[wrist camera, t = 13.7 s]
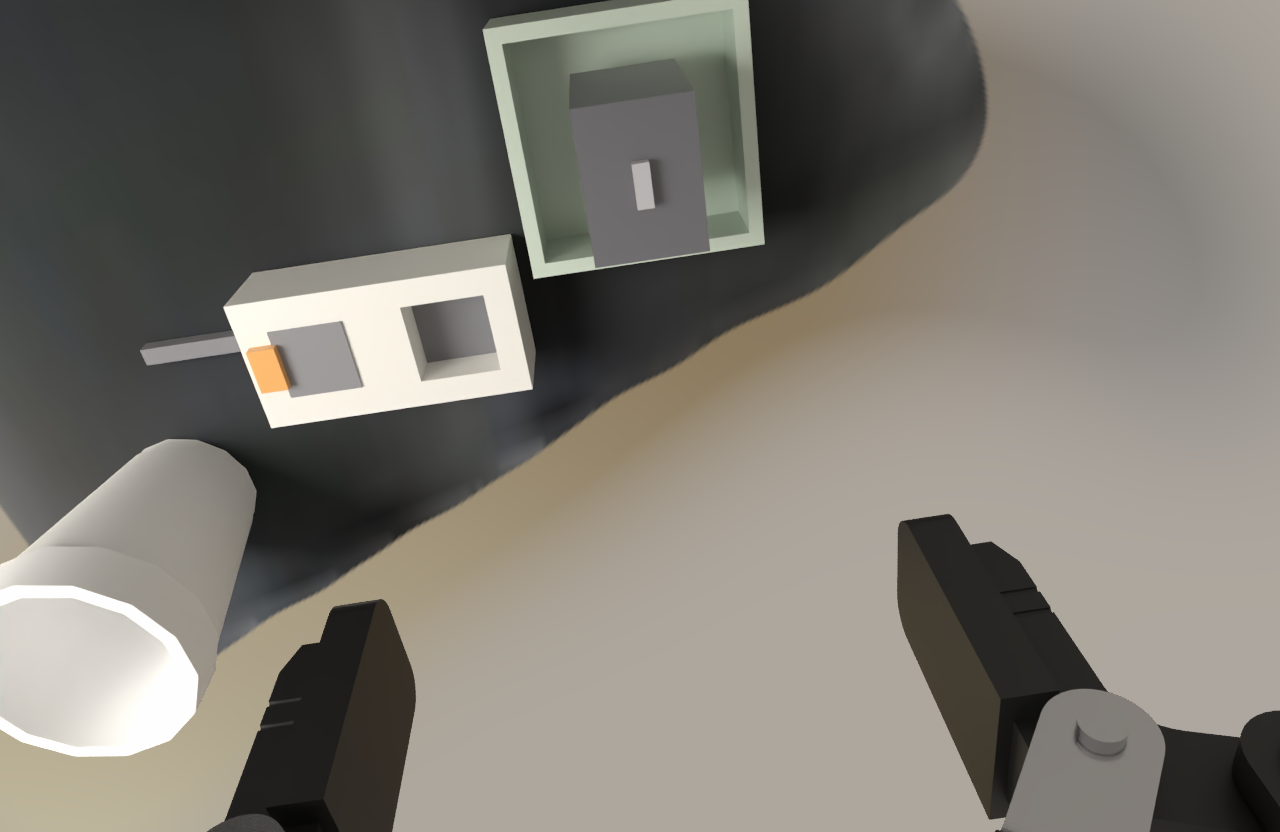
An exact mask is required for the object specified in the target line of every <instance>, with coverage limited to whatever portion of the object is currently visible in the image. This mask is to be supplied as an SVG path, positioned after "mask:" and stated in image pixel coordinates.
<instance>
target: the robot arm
mask: <svg viewBox="0 0 1280 832" xmlns="http://www.w3.org/2000/svg"><path fill="white" fill-rule="evenodd" d="M897 579H898V580H897V596H898V597H897V598H898V608H899V613H900V617H901V622H902V626H903V629H904V632H905V635H906V637H907V639H908V641H909V644H910V646H911V648H912V650H913V653H914V655H915V657H916V659H917V661H918V664H919V666H920V668H921V670H922V672H923V675H924V677H925V679H926V681H927V683H928V686H929V688H930V690H931V692H932V694H933V697H934V699H935V701H936V703H937V705H938V708H939V710H940V712H941V714H942V717H943V719H944V721H945V723H946V725H947V728H948V730H949V732H950V734H951V736H952V739H953V741H954V743H955V745H956V747H957V750H958V752H959V754H960V756H961V759H962V761H963V763H964V765H965V767H966V770H967V772H968V774H969V776H970V778H971V781H972V783H973V785H974V787H975V789H976V792H977V794H978V796H979V798H980V800H981V802H982V805H983V807H984V809H985V812H986V814H987V816H988V818H989V819H997V818H1004V817H1006V818H1005V821H1004V824H1003V827H1002V829H1001V831H999V830H996V831H995V832H1280V711H1272V712H1265V713H1263V714H1260V715H1257V716H1255V717H1254V718H1252V719H1251V720H1250V721H1249V722H1248V723H1247V724H1246V725H1245V726H1244V728H1243V730H1242V733H1241V736H1240V738H1239V737H1231V736H1222V735H1214V734H1205V733H1197V732H1189V731H1182V730H1176V729H1171V728H1167V727H1164V726H1160V725H1158V724H1156V722H1155V721H1154V720H1153V719H1152V718H1151V717H1150V716H1149V714H1147V713H1146V712H1145V711H1144V710H1143V709H1141V708H1140V707H1139V706H1137V705H1136V704H1134V703H1133V702H1131V701H1129V700H1127V699H1125V698H1123V697H1121V696H1118V695H1115V694H1113V693H1109V692H1108V691H1107V690H1106V689H1105V688H1104V686H1103V685H1102V683H1101V682H1100V681H1099V679H1098V677H1097V676H1096V674H1095V673H1094V671H1093V670H1092V668H1091V667H1090V665H1089V664H1088V662H1087V661H1086V659H1085V658H1084V656H1083V655H1082V653H1081V652H1080V651H1079V649H1078V647H1077V646H1076V645H1075V643H1074V642H1073V640H1072V639H1071V637H1070V636H1069V634H1068V633H1067V632H1066V630H1065V628H1064V627H1063V625H1062V624H1061V622H1060V621H1059V619H1058V618H1057V616H1056V615H1055V613H1054V612H1053V613H1052V612H1051V609H1050V606H1049V604H1048V603H1047V601H1046V600H1045V598H1044V597H1043V596H1042V594H1041V592H1038V591H1037V587H1036V585H1035V584H1034V582H1033V581H1032V579H1031V578H1030V576H1029V575H1028V573H1027V572H1026V570H1025V569H1024V567H1023V566H1022V564H1021V563H1020V562H1019V561H1018V560H1017V559H1015V558H1014V557H1012V556H1011V555H1010V554H1008V553H1007V552H1005V551H1004V550H1002V549H1001V548H1000V547H998V546H997V545H995V544H994V543H993V542H985V543H979V544H972V545H970V543H969V542H968V540H967V538H966V537H965V535H964V533H963V532H962V530H961V529H960V527H959V525H958V524H957V522H956V521H955V519H954V518H953V517H952V516H951V515H950V514H945V515H938V516H932V517H925V518H919V519H912V520H906V521H901V522H900V524H899V527H898V578H897ZM415 693H416V691H415V681H414V675H413V671H412V668H411V665H410V662H409V659H408V657H407V654H406V651H405V649H404V646H403V643H402V641H401V638H400V636H399V633H398V630H397V627H396V625H395V622H394V619H393V617H392V614H391V611H390V609H389V606H388V605H387V603H386V602H385V601H384V600H382V599H380V600H373V601H366V602H360V603H353V604H348V605H340V606H335V607H333V609H332V610H331V611H330V613H329V616H328V619H327V622H326V625H325V628H324V631H323V634H322V637H321V640H320V643H313V644H307V645H302V646H301V647H300V648H299V650H298V651H297V652H296V653H295V655H294V656H293V657H292V658H291V660H290V661H289V662H288V663H287V664H286V665H285V667H284V668H283V669H282V670H281V671H280V673H279V675H278V678H277V681H276V683H275V686H274V689H273V692H272V694H271V697H270V700H269V704H270V705H269V707H267V708H266V711H265V714H264V716H263V719H262V721H261V724H260V726H261V730H260V731H258V732H257V735H256V738H255V740H254V743H253V746H252V749H251V751H250V754H249V757H248V759H247V762H246V765H245V768H244V770H243V773H242V776H241V778H240V781H239V784H238V787H237V789H236V792H235V795H234V797H233V800H232V803H231V805H230V808H229V811H228V814H227V816H226V819H225V821H224V822H222V823H220V824H218V825H216V826H215V827H213V828H212V829H210V830H209V831H207V832H392V829H393V823H394V818H395V813H396V808H397V802H398V797H399V792H400V786H401V781H402V775H403V770H404V765H405V760H406V754H407V749H408V744H409V738H410V732H411V728H412V722H413V717H414V712H415V702H416V694H415Z"/></svg>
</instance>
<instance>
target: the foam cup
mask: <svg viewBox="0 0 1280 832" xmlns="http://www.w3.org/2000/svg"><path fill="white" fill-rule="evenodd" d="M256 493H257V491H256V489H255V486H254V484H253V482H252V480H251V478H250V476H249V473H248V471H247V469H246V468H245V467H244V466H242V465H241V464H240V463H239V462H238V461H237V460H236V459H234V458H233V457H232V456H231V455H230V454H229V453H228V452H226V451H225V450H223V449H220V448H217V447H215V446H212V445H210V444H207V443H204V442H202V441H199V440H185V439H167V440H165V441H162V442H160V443H158V444H155V445H153V446H150V447H148V448H146V449H144V450H143V451H142V452H141V453H140V454H137V455H136V456H135V457H134V458H133V459H131V460H130V461H129V462H128V463H127V464H126V465H124V466H123V467H122V468H121V469H120V470H119V471H117V472H116V473H115V474H114V475H113V476H111V477H110V478H109V479H108V480H107V481H106V482H104V483H103V484H102V485H101V486H100V487H99V488H97V489H96V490H95V491H94V492H93V493H92V494H90V495H89V496H88V497H87V498H86V499H85V500H83V501H82V502H81V503H80V504H79V505H77V506H76V507H75V508H74V509H73V510H72V511H70V512H69V513H68V514H67V515H66V516H65V517H63V518H62V519H61V520H60V521H59V522H58V523H56V524H55V525H54V526H53V527H52V528H51V529H49V530H48V531H47V532H46V533H45V534H43V535H42V536H41V537H40V538H39V539H38V540H36V541H35V542H34V543H33V544H32V545H31V546H29V547H28V548H27V549H26V550H25V551H24V552H22V553H21V554H20V555H19V556H18V557H17V558H15V559H12V560H10V561H8V562H5V563H3V564H0V729H1V730H3V731H4V732H6V733H8V734H9V735H11V736H12V737H14V738H16V739H17V740H19V741H21V742H23V743H27V744H31V745H35V746H38V747H42V748H46V749H50V750H53V751H57V752H60V753H64V754H68V755H71V756H129V755H131V754H134V753H137V752H140V751H142V750H145V749H148V748H151V747H153V746H156V745H159V744H161V743H164V742H167V741H170V740H171V739H172V738H173V737H174V736H175V735H176V733H177V732H178V731H179V730H180V729H181V728H182V727H183V726H184V725H185V723H186V722H187V721H188V720H189V719H190V718H191V717H192V716H193V715H194V714H195V713H196V711H197V708H198V706H199V704H200V702H201V699H202V698H203V695H204V693H205V691H206V689H207V687H208V685H209V683H210V680H211V678H212V676H213V674H214V671H215V667H216V656H217V645H218V641H219V637H220V634H221V630H222V627H223V623H224V620H225V616H226V613H227V609H228V606H229V602H230V598H231V595H232V591H233V588H234V584H235V581H236V577H237V574H238V570H239V567H240V563H241V559H242V556H243V552H244V549H245V545H246V542H247V538H248V535H249V531H250V528H251V524H252V520H253V514H254V512H255V502H256Z"/></svg>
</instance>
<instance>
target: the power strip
mask: <svg viewBox="0 0 1280 832" xmlns="http://www.w3.org/2000/svg"><path fill="white" fill-rule="evenodd" d="M224 310H225V312H226V315H227V318H228V320H229V323H230V325H231V328H232V330H230V331H224V332H217V333H210V334H204V335H197V336H190V337H184V338H177V339H170V340H164V341H157V342H151V343H147V344H146V345H145V346H144V347H143V348H142V349H141V350H140V351H141V354H142V356H143V358H144V360H145V362H146V364H147V365H154V364H160V363H167V362H174V361H180V360H187V359H194V358H200V357H207V356H214V355H220V354H227V353H234V352H240V351H241V353H242V355H243V358H244V360H245V363H246V365H247V368H248V370H249V373H250V376H251V378H252V381H253V383H254V386H255V388H256V391H257V393H258V396H259V398H260V401H261V403H262V406H263V408H264V411H265V413H266V416H267V418H268V421H269V423H270V426H271V428H276V427H283V426H289V425H296V424H303V423H310V422H316V421H323V420H330V419H336V418H343V417H350V416H357V415H363V414H370V413H377V412H383V411H390V410H397V409H403V408H410V407H417V406H424V405H430V404H437V403H444V402H450V401H457V400H464V399H471V398H477V397H484V396H491V395H497V394H504V393H511V392H518V391H524V390H531V389H533V379H534V367H535V355H536V349H535V345H534V340H533V335H532V331H531V326H530V321H529V316H528V312H527V307H526V302H525V298H524V293H523V288H522V284H521V279H520V274H519V270H518V265H517V260H516V256H515V251H514V246H513V241H512V237H511V234H507V235H501V236H494V237H487V238H481V239H474V240H467V241H461V242H454V243H447V244H441V245H434V246H428V247H421V248H414V249H408V250H401V251H394V252H388V253H381V254H375V255H368V256H361V257H355V258H348V259H341V260H335V261H328V262H322V263H315V264H308V265H302V266H295V267H288V268H282V269H275V270H269V271H262V272H255V273H252V274H251V275H250V277H249V278H248V279H247V280H246V281H245V282H244V284H243V285H242V286H241V287H240V288H239V289H238V290H237V292H236V293H235V294H234V295H233V296H232V297H231V299H230V300H229V301H228V302H227V303H226V304H225V306H224Z"/></svg>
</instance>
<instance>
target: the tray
mask: <svg viewBox="0 0 1280 832" xmlns="http://www.w3.org/2000/svg"><path fill="white" fill-rule="evenodd" d="M483 34H484V39H485V44H486V49H487V53H488V58H489V63H490V68H491V73H492V78H493V83H494V88H495V92H496V97H497V102H498V107H499V112H500V117H501V122H502V127H503V131H504V136H505V141H506V146H507V151H508V156H509V161H510V166H511V170H512V175H513V180H514V185H515V190H516V195H517V200H518V204H519V209H520V214H521V219H522V224H523V229H524V234H525V239H526V243H527V248H528V253H529V258H530V263H531V268H532V273H533V278H534V279H536V278H543V277H550V276H556V275H563V274H570V273H576V272H583V271H590V270H596V269H603V268H610V267H616V266H623V265H630V264H636V263H643V262H649V261H656V260H663V259H669V258H676V257H683V256H689V255H696V254H703V253H709V252H716V251H723V250H729V249H736V248H743V247H749V246H756V245H763V244H765V243H764V228H763V213H762V198H761V183H760V168H759V153H758V138H757V123H756V108H755V93H754V78H753V63H752V48H751V33H750V18H749V3H748V0H610V1H603V2H597V3H590V4H584V5H577V6H571V7H564V8H558V9H551V10H545V11H538V12H532V13H525V14H519V15H512V16H506V17H499V18H493V19H490V20H489V21H488V23H487V24H486V25H485V27H484V28H483ZM673 58H674V59H675V61H676V62H677V64H678V65H679V67H680V68H681V70H682V72H683V73H684V75H685V76H686V78H687V79H688V81H689V83H690V84H691V86H692V87H693V89H694V90H695V100H696V110H697V121H698V131H699V141H700V151H701V162H702V172H703V182H704V192H705V203H706V213H707V223H708V234H709V244H710V251H708V252H701V253H694V254H687V255H681V256H674V257H667V258H661V259H654V260H647V261H640V262H634V263H627V264H620V265H614V266H607V267H600V268H595V263H594V257H593V251H592V245H591V239H590V233H589V227H588V221H587V215H586V209H585V203H584V197H583V191H582V185H581V179H580V173H579V167H578V161H577V155H576V149H575V143H574V137H573V131H572V125H571V119H570V113H569V84H570V74H574V73H581V72H587V71H594V70H601V69H607V68H614V67H620V66H627V65H634V64H640V63H647V62H654V61H660V60H667V59H673Z"/></svg>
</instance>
